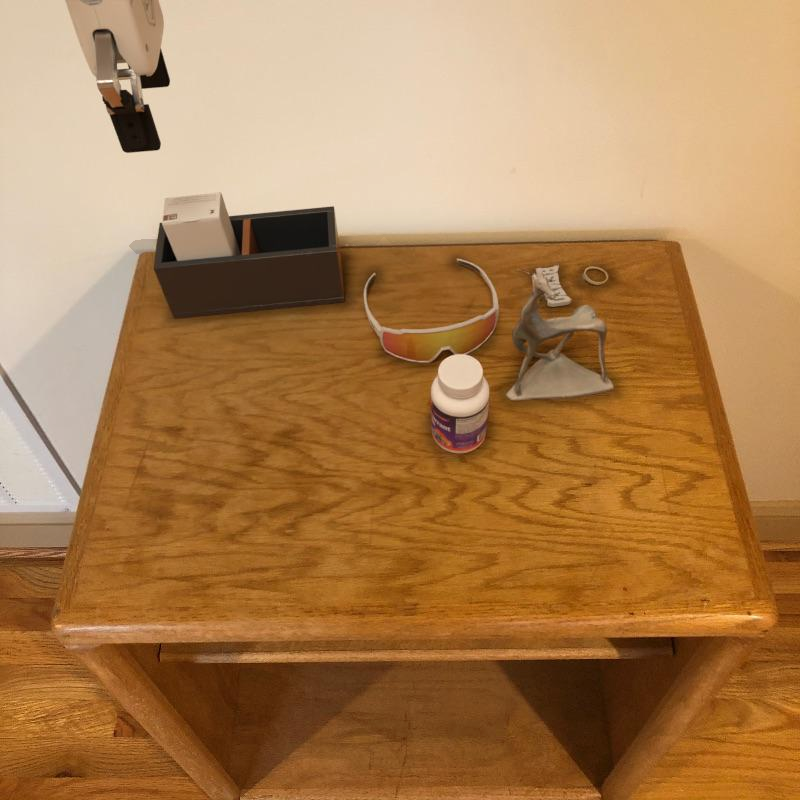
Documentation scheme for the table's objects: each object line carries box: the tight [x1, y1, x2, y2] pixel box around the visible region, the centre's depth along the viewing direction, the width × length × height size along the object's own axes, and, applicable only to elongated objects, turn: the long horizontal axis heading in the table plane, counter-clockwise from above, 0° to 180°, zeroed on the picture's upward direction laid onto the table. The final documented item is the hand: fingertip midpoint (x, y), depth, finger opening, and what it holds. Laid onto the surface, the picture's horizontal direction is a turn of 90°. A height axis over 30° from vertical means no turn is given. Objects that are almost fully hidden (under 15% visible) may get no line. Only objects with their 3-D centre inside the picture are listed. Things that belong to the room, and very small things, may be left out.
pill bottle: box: [430, 354, 490, 454], centre depth 73 cm, size 5×5×10 cm
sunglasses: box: [363, 258, 500, 364], centre depth 85 cm, size 14×15×5 cm
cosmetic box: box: [161, 192, 241, 261], centre depth 84 cm, size 6×4×12 cm
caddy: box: [152, 205, 345, 319], centre depth 87 cm, size 19×7×8 cm, turn 95°
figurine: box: [505, 272, 615, 401], centre depth 75 cm, size 11×6×15 cm, turn 91°
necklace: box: [515, 264, 572, 308], centre depth 87 cm, size 7×1×5 cm
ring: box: [581, 265, 609, 286], centre depth 88 cm, size 3×1×3 cm
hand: (148, 116), depth 69 cm, fingers open, 9 cm apart
